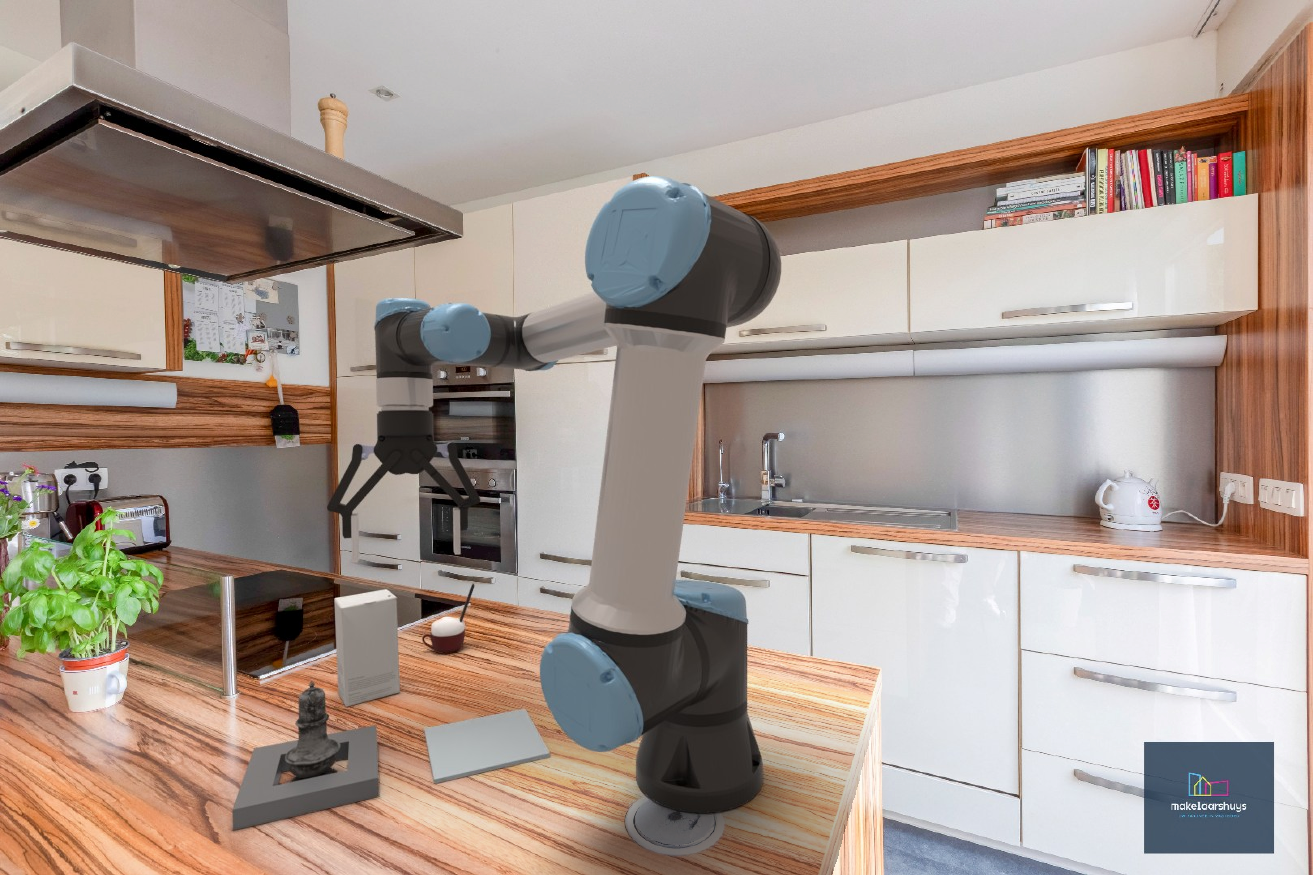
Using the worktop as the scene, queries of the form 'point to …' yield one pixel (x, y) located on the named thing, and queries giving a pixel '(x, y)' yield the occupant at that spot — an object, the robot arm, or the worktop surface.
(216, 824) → the worktop surface
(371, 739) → the grey square frame
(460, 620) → the cocoa
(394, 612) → the skincare box
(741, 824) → the worktop surface
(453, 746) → the mat
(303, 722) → the salt shaker
